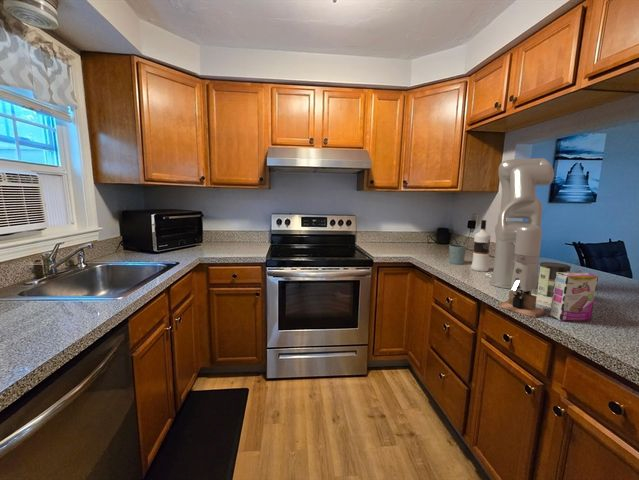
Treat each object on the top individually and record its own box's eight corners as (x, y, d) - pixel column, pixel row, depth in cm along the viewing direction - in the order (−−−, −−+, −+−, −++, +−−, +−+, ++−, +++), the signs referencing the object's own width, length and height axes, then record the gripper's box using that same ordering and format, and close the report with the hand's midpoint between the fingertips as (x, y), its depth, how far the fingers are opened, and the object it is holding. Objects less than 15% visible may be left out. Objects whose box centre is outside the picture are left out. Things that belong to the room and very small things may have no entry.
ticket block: (519, 299, 119) (519, 295, 119) (528, 296, 123) (528, 292, 123) (554, 308, 109) (554, 304, 109) (562, 304, 113) (563, 300, 113)
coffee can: (571, 297, 122) (575, 265, 120) (560, 301, 117) (564, 268, 115) (543, 290, 131) (546, 261, 129) (531, 294, 126) (535, 263, 124)
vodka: (474, 267, 175) (479, 219, 171) (491, 270, 168) (495, 220, 164) (468, 269, 170) (472, 219, 165) (484, 272, 162) (489, 220, 158)
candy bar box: (561, 322, 97) (567, 275, 95) (549, 316, 102) (554, 271, 100) (592, 321, 97) (599, 275, 95) (579, 315, 102) (585, 271, 100)
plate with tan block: (499, 306, 111) (500, 290, 110) (508, 303, 114) (510, 287, 113) (534, 317, 100) (536, 300, 100) (544, 313, 104) (546, 296, 103)
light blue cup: (461, 262, 191) (462, 244, 190) (467, 265, 181) (469, 247, 180) (445, 261, 192) (447, 244, 190) (451, 265, 182) (452, 246, 181)
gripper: (526, 263, 97) (521, 314, 99) (548, 258, 106) (542, 305, 108) (503, 259, 103) (498, 307, 106) (525, 255, 112) (520, 299, 115)
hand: (521, 305), depth 107 cm, fingers open, 4 cm apart
